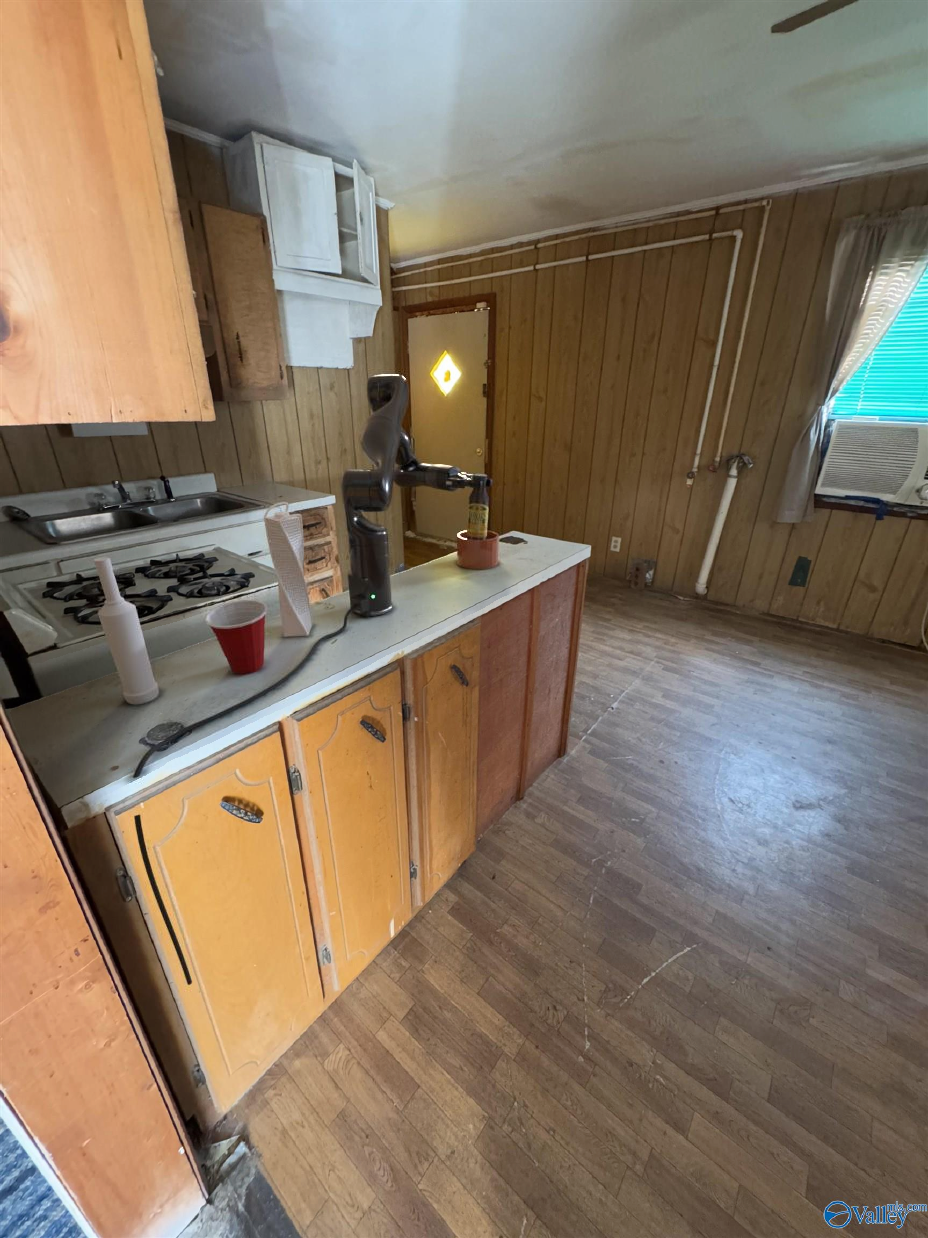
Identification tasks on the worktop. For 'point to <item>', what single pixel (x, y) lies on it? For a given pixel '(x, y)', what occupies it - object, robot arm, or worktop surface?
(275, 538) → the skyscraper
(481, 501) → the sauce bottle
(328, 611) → the worktop surface
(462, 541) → the crock
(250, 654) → the plastic cup
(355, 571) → the robot arm
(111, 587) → the bottle
